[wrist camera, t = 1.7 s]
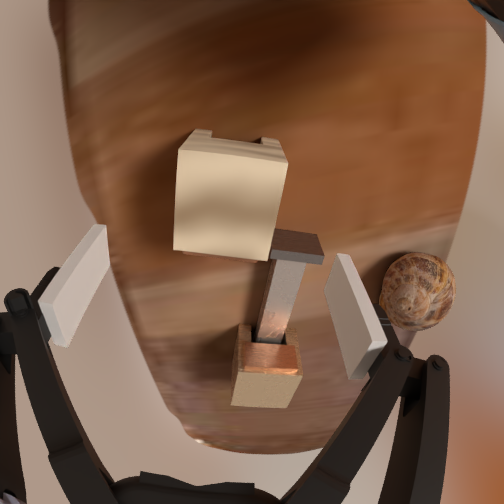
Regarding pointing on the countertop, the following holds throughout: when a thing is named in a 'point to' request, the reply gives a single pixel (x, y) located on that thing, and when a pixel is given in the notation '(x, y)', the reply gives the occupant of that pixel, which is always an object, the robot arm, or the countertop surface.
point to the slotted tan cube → (227, 196)
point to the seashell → (417, 291)
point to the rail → (274, 328)
